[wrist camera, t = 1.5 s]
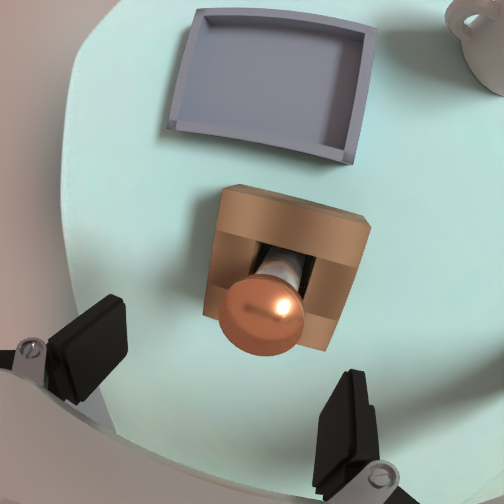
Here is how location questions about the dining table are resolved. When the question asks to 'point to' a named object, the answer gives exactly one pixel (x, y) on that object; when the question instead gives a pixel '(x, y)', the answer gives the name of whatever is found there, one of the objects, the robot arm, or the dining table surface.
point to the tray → (275, 80)
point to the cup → (481, 38)
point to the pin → (266, 306)
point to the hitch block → (293, 238)
